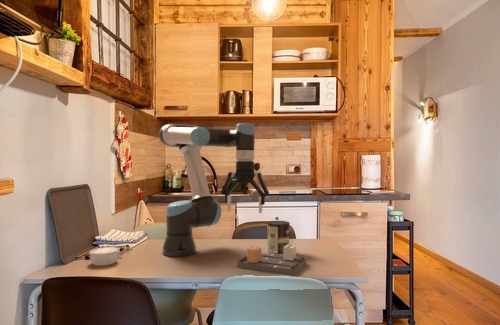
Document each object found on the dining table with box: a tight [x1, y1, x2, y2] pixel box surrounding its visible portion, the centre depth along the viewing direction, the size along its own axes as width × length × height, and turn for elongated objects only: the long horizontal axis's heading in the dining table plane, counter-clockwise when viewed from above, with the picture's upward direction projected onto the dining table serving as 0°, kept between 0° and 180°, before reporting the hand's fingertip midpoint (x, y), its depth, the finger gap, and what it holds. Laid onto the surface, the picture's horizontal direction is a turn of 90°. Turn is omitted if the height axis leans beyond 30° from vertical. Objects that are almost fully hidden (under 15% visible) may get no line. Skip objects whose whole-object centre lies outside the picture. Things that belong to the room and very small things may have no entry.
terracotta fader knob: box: [246, 245, 262, 263], centre depth 137 cm, size 4×5×5 cm
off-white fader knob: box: [283, 244, 297, 261], centre depth 140 cm, size 4×5×5 cm
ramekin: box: [89, 246, 120, 267], centre depth 142 cm, size 11×11×5 cm
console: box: [236, 252, 307, 276], centre depth 139 cm, size 24×17×3 cm
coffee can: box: [266, 220, 290, 256], centre depth 158 cm, size 10×10×14 cm
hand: (244, 211), depth 142 cm, fingers open, 13 cm apart
